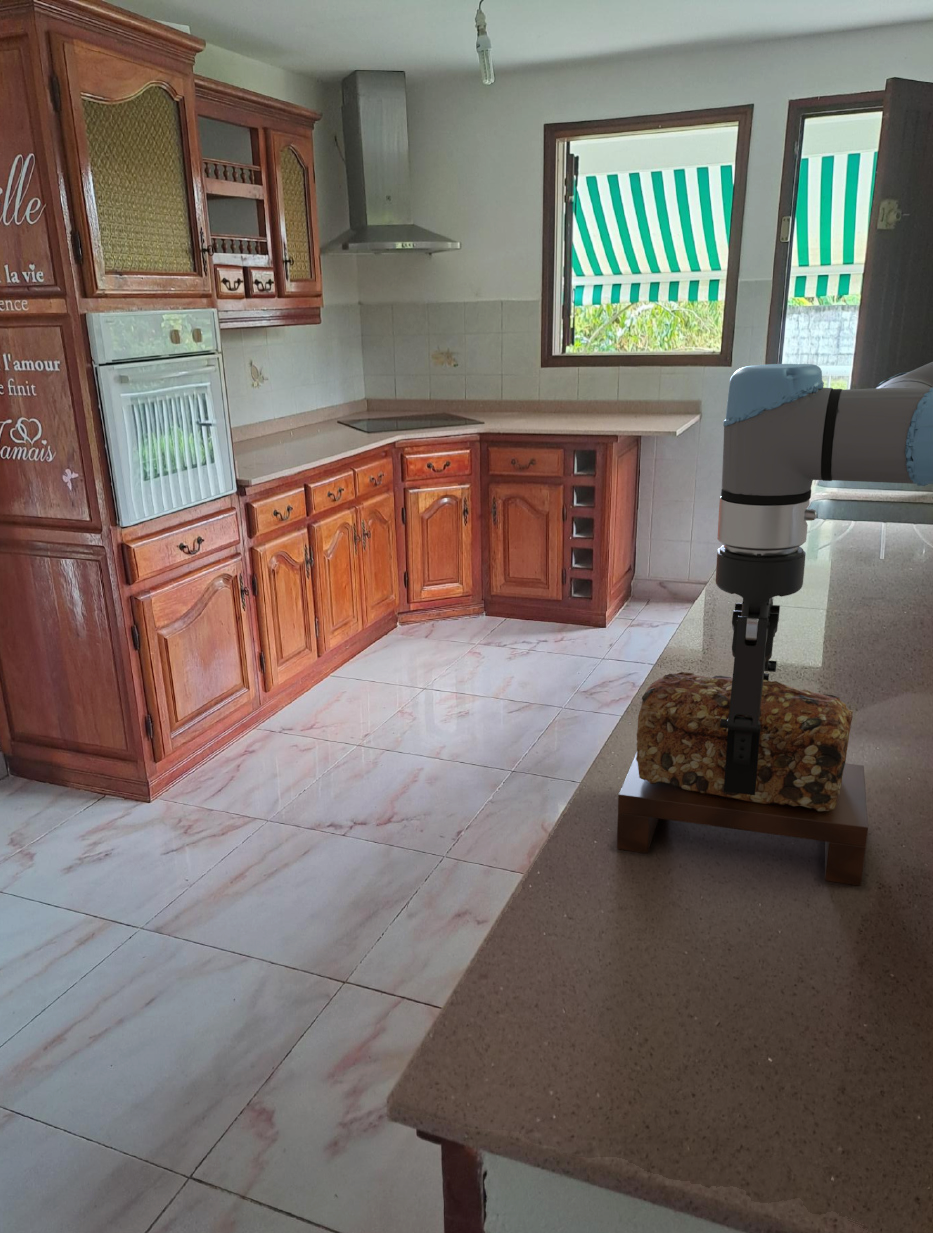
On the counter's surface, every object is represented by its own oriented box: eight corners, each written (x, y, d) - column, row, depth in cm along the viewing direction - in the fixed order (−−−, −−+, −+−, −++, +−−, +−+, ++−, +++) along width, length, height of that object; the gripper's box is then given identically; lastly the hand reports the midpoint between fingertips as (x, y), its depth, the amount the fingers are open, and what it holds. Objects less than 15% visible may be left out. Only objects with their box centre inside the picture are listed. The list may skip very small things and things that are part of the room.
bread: (632, 786, 94) (635, 691, 90) (658, 743, 103) (661, 655, 99) (838, 821, 86) (850, 718, 82) (847, 771, 95) (858, 676, 91)
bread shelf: (857, 818, 98) (863, 765, 96) (860, 886, 87) (868, 827, 84) (639, 790, 106) (641, 740, 104) (616, 848, 94) (618, 794, 92)
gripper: (802, 584, 74) (780, 827, 81) (809, 519, 95) (790, 715, 103) (701, 579, 76) (689, 815, 84) (730, 517, 98) (718, 708, 105)
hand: (745, 760), depth 93 cm, fingers open, 13 cm apart
